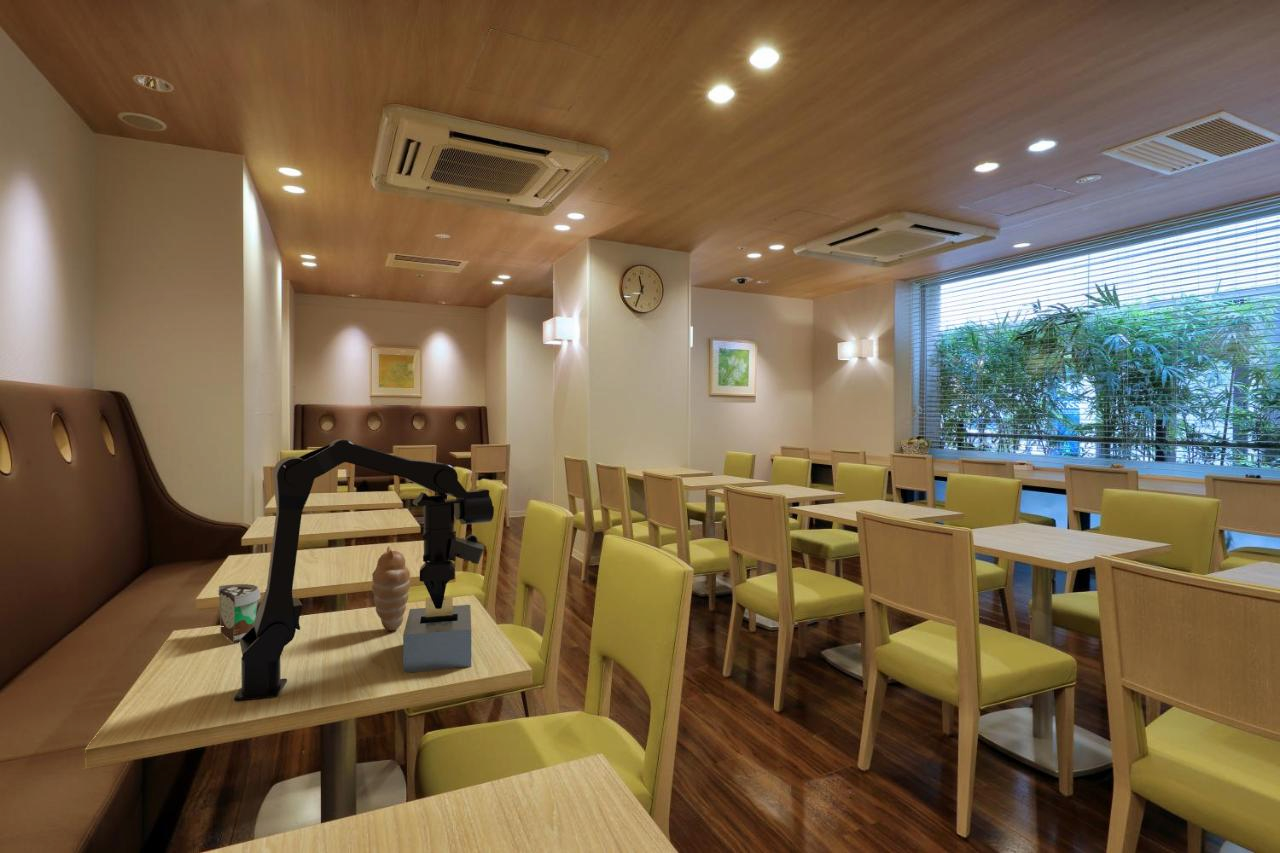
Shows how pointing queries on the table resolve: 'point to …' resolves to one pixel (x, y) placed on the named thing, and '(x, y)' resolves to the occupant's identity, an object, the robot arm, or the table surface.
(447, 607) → the tan brushed block
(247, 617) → the food container
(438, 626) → the box
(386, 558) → the tan ribbed tall piece
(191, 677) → the table surface
